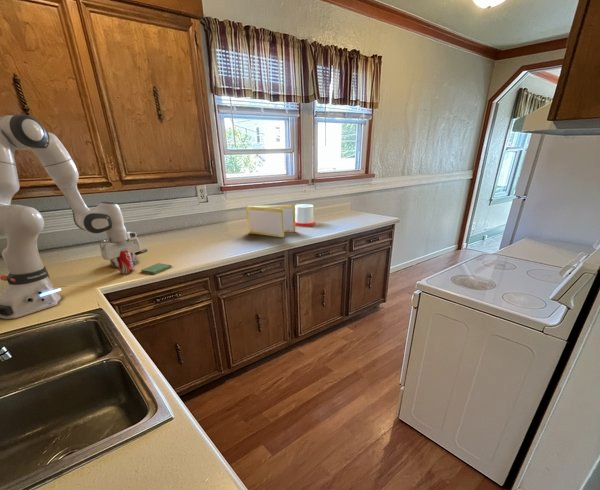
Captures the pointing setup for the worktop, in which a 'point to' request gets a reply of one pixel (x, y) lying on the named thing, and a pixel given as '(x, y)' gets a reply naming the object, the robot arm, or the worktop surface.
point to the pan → (118, 267)
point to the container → (304, 215)
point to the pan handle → (141, 252)
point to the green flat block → (156, 268)
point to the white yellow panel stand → (271, 219)
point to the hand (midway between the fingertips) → (125, 263)
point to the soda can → (125, 262)
